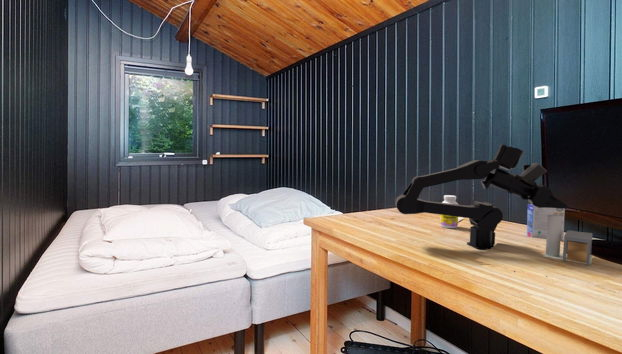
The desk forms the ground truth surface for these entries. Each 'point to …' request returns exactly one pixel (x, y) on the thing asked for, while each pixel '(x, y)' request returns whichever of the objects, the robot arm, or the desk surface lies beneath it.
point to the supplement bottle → (449, 220)
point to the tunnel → (578, 238)
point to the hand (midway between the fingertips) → (560, 203)
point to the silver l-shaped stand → (555, 238)
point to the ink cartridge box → (541, 221)
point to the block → (577, 251)
